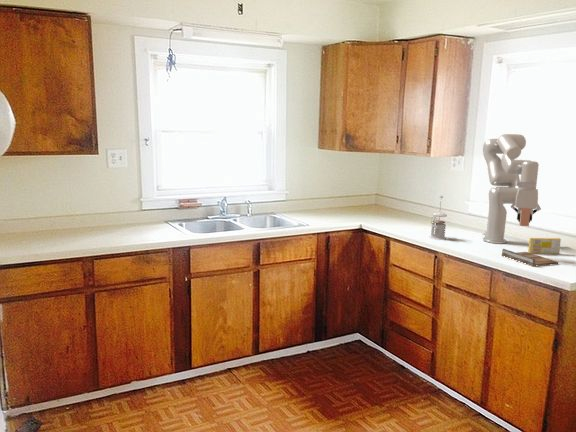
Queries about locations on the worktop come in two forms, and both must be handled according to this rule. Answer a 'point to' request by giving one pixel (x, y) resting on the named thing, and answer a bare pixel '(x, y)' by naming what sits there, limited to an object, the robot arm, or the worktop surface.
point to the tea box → (524, 216)
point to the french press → (438, 226)
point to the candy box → (544, 245)
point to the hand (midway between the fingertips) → (524, 221)
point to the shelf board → (538, 259)
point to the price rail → (518, 256)
